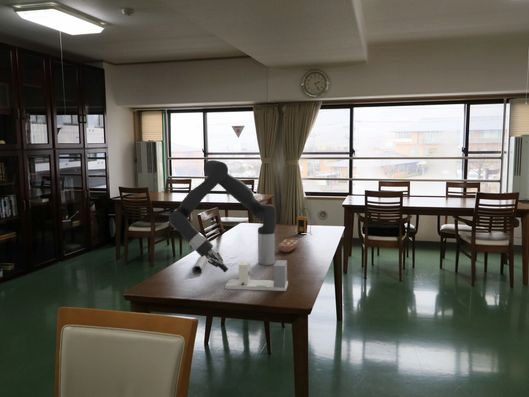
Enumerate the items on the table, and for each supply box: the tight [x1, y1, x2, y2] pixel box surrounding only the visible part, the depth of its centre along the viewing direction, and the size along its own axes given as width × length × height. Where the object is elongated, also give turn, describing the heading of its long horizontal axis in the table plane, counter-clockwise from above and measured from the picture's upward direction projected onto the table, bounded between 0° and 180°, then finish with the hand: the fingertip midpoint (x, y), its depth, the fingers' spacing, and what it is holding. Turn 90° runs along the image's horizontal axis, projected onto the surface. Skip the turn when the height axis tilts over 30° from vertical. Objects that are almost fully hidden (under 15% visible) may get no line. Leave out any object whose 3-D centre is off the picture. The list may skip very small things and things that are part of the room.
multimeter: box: [292, 207, 312, 234], centre depth 333 cm, size 15×10×20 cm
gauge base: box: [224, 259, 289, 292], centre depth 206 cm, size 10×28×12 cm, turn 81°
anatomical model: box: [278, 238, 299, 253], centre depth 281 cm, size 23×10×5 cm, turn 164°
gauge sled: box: [238, 261, 253, 285], centre depth 206 cm, size 8×5×9 cm, turn 171°
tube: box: [191, 255, 208, 276], centre depth 239 cm, size 5×5×25 cm
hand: (226, 270), depth 208 cm, fingers closed
